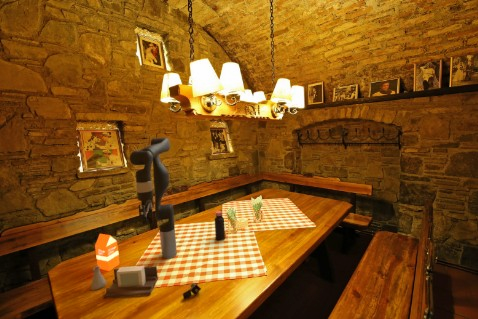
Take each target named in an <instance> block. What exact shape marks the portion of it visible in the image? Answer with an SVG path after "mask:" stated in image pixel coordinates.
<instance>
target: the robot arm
mask: <svg viewBox="0 0 478 319" xmlns="http://www.w3.org/2000/svg"><path fill="white" fill-rule="evenodd" d="M170 148H171V143H170V139H169V138H167V137H157V138H152V139H151V140H150V145H147V146H146V147H144V148H141V149H136V150H134V151H132V152H131V153H130V155H129V161H130V163H131V164H132V165H134V166H144V167H143V168H141V169H137V170H136V171H135V180H136V183H135V184H136V185H135V187H136V194H137V196H136V197H137V200H138V201H140V203H141V204H139V205H138V215H139V218H141V221H142V224H143V225H146V224H148V218H154V216H155V219H156V220H157V221H164V220H167V221H165V222H163V223H161V224H160V225H159V227H158V228H159V236H160V237H159V238H160V249H161V258H162V259H166V260H167V259H172V258H174V257H176V256H177V254H178V250H177V241H176V240H177V239H176V238H177V237H176V228H175V218H174V217H175V215H174V205H173V204H172V203H167V204H161V203H162V198H163V196H164V194H165V193H166V191H167V189H168V187H169V185H170V176H169V175H170V173H169V171H168V169H167V168H166V166H165V165H164V164H163V162H162V161H161V159H160V154H164V153H166V152H169V151H170ZM152 171H153V173H152ZM152 176H153V180H152ZM152 181H153V182H152ZM153 187H154V188H153ZM153 211H154V212H153ZM153 213H154V214H153Z"/></svg>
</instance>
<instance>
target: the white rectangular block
mask: <svg viewBox="0 0 478 319" xmlns="http://www.w3.org/2000/svg"><path fill="white" fill-rule="evenodd" d="M144 267H145V265H135V266H122V267H121V266H120V267H119V268H118V269H119V270H118V271H117V280H118V287H129V286H143V285H144V284H145V282H146V279H145V270H144Z"/></svg>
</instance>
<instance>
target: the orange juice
mask: <svg viewBox="0 0 478 319" xmlns="http://www.w3.org/2000/svg"><path fill="white" fill-rule="evenodd" d="M94 248H95V256H96V262H97V266H100V270H103V271H107V272H108V271H109V272H110V271H111V270H114V269H115V267H117V266H119V265H120V256H119V255H120V254H119V247H118V241H117V240H116V239H115V238H114V237H113V236H112V235H110V234H103V233H99V235H98V238H97V240H96V243H95V245H94Z"/></svg>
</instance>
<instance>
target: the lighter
mask: <svg viewBox="0 0 478 319" xmlns="http://www.w3.org/2000/svg"><path fill="white" fill-rule="evenodd" d="M201 290H202V288H201V287H200V286H199V285H198V284H197V283H195V282H194V283H191V285H190V289H188V290H186V291H184V292H183V293H182V296H183V299H184V300H188V299H189V298H191V297H192V296H193V295H194V296H196V295H198V293H199V292H200V291H201Z"/></svg>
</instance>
